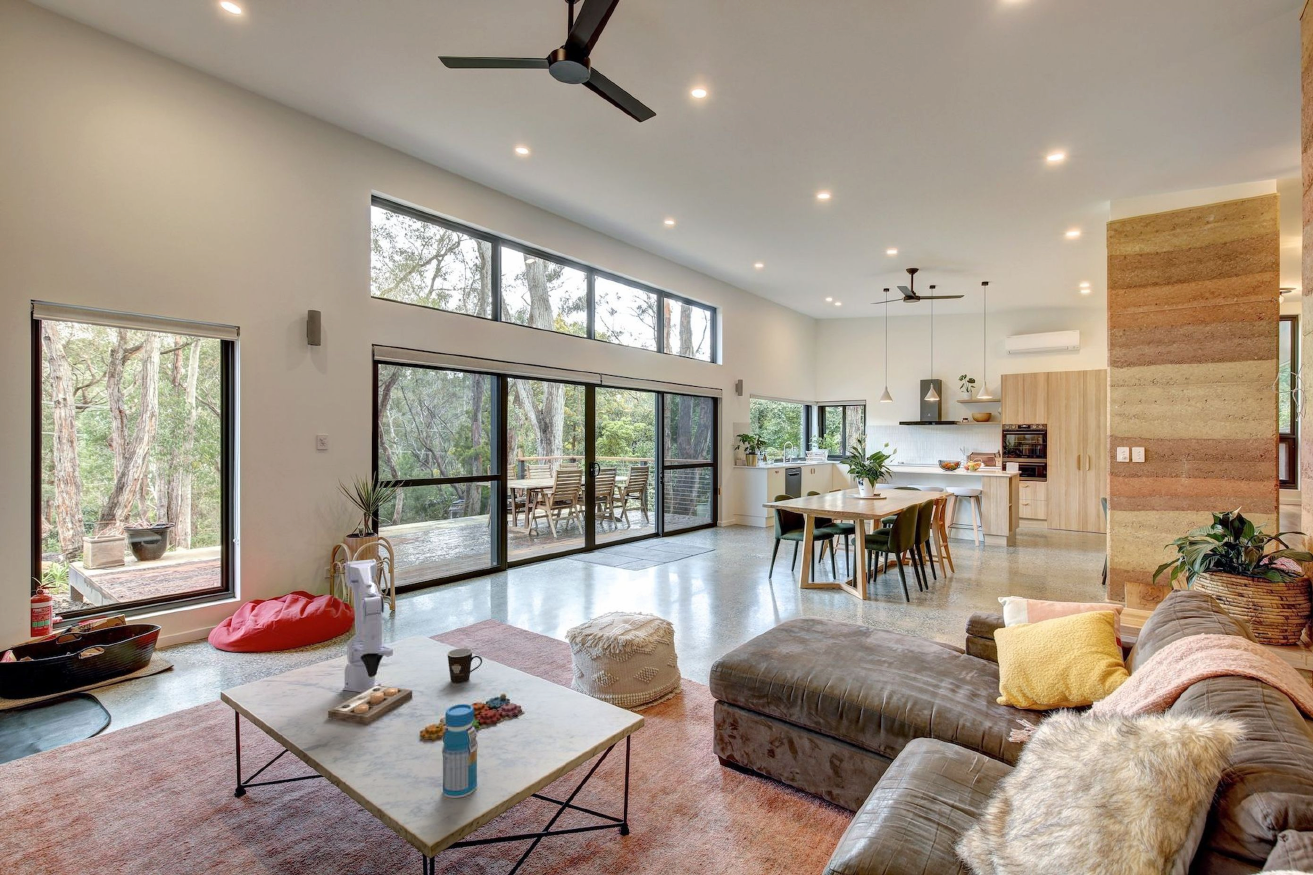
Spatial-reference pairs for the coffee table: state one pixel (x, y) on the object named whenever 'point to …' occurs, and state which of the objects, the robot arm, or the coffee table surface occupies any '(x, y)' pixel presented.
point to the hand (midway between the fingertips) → (372, 675)
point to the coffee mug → (460, 664)
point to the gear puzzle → (479, 716)
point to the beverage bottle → (459, 752)
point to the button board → (375, 710)
